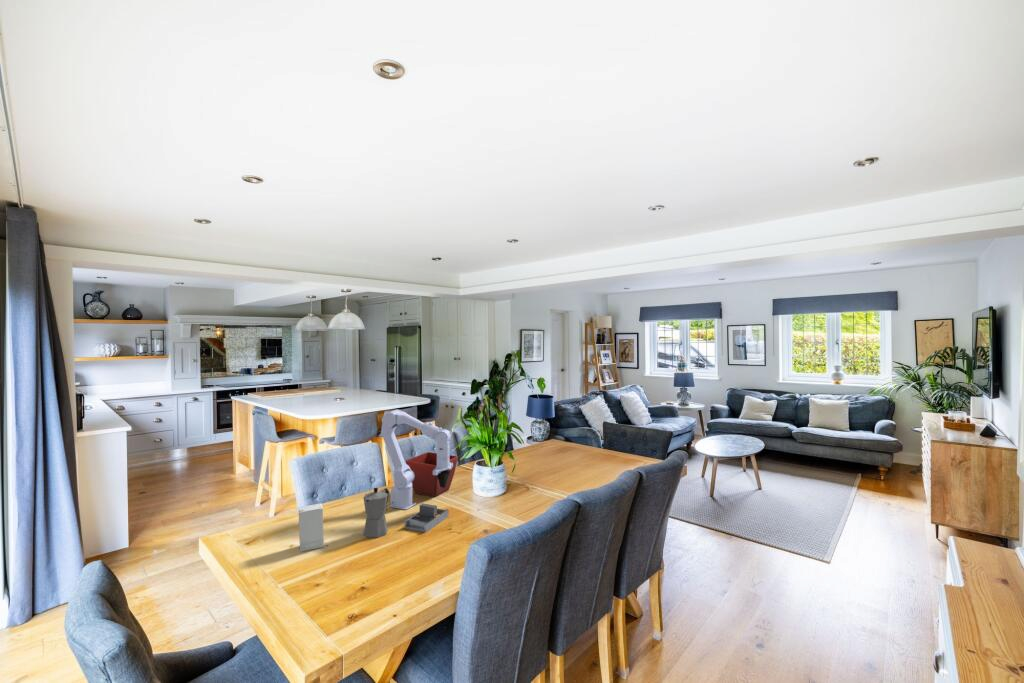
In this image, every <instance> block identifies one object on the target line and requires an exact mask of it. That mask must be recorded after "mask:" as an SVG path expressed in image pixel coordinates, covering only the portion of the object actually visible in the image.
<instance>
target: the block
mask: <svg viewBox="0 0 1024 683" xmlns="http://www.w3.org/2000/svg"><path fill="white" fill-rule="evenodd" d="M437 509H438V505H435V504H429V503H428V504H427V503H424V502H423V503H421V504H420V505H419V511H418V512H419V516H425V517H431V518H434V516H435V515H437Z"/></svg>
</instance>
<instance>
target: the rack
mask: <svg viewBox="0 0 1024 683" xmlns="http://www.w3.org/2000/svg"><path fill="white" fill-rule="evenodd" d="M449 511H450V510H449V509H448V508H446V509H441V508H437V515H435V516H434V518H431V517H425V516H419V511H418V512H416V513H415V514H414V515H413V514H412V515H411V517H408V518H407V519H405V520H404V529H405V530H410V531H414V532H418V533H424V534H425V533H428V532H429V531H430V530H431V529H433V528H435V527H436V526H437V525H439V524H440V523H442V522H443V521H444V520H446V519H447V518H449V516H450V515H449Z"/></svg>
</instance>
